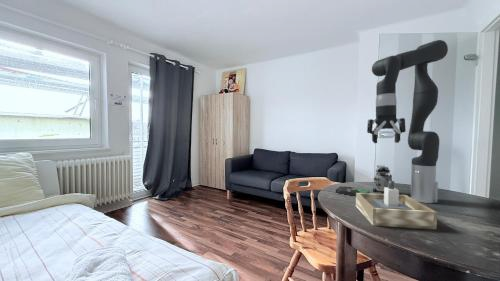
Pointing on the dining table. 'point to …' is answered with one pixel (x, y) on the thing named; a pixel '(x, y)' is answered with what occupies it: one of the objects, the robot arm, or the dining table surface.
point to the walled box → (397, 213)
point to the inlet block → (380, 204)
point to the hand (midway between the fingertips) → (385, 142)
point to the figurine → (381, 178)
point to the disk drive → (350, 191)
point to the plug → (391, 195)
